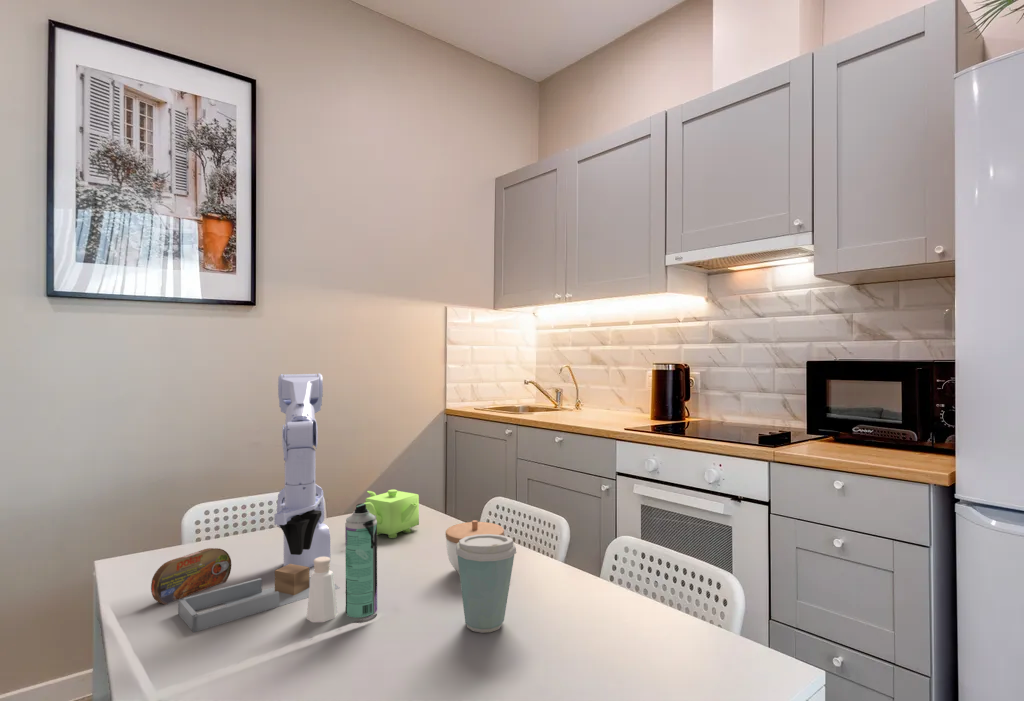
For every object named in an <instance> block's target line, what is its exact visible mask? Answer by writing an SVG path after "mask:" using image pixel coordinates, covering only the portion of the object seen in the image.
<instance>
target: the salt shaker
mask: <svg viewBox="0 0 1024 701" xmlns="http://www.w3.org/2000/svg"><path fill="white" fill-rule="evenodd" d="M330 567H331V557H330V558H329V557H318V558H316V559H315V560H314V566H313V569H314V572H312V574H311V575H310V577H311V579H310V589H309V598H307V599H308V601H307V612H306V620H308V621H310V622H311V623H325V622H328V621H331V620H333V619H335V618H336V617H337V616H338V613H339V612H338V602H337V594H336V590H335V585H336V584H335V577H334V571H332V570H330V569H331V568H330Z"/></svg>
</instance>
